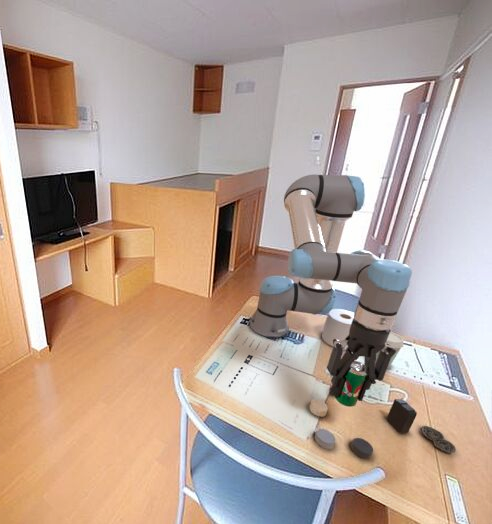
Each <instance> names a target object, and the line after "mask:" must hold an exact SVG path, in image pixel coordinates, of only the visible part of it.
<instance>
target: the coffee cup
mask: <svg viewBox="0 0 492 524" xmlns="http://www.w3.org/2000/svg"><path fill="white" fill-rule="evenodd" d="M385 344H390V345H391V346H392V347H393V348H394V349H395V350H396V353H395V354H394V355H393V356H392V357H391V359H390V362H389V365H388V367H387V369H390V367H391V365H392V364H393V362H394V360H395V359H396V357H397V356H398V354H399V352H400V351H401V349H402V348H403V347H404V338H403V337H402V336H401V335H399V334H397V333H396V332H393V331H390V334H389V336H388V339H387V342H386V343H385ZM379 353H380V351H379V352H378V353H376V361H377V358H378V356H379ZM376 361H375V364H376Z"/></svg>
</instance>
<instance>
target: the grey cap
mask: <svg viewBox="0 0 492 524" xmlns="http://www.w3.org/2000/svg"><path fill="white" fill-rule="evenodd" d="M314 440H315V443H316V444H317V445H318V446H319V447H321V448H323V449H325V450H332V449H333V448H334V447H335V446H334V445H335V443H336V437H335V435H334V434H333V433H332V432H331V431H330V430H328V429H325V428H318V429H317V430H316V431H315V436H314Z"/></svg>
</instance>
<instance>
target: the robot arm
mask: <svg viewBox="0 0 492 524" xmlns="http://www.w3.org/2000/svg"><path fill="white" fill-rule="evenodd" d="M365 199H366V186H365V182H364V181H363V179H362V178H361V177H360V176H355V175H348V174H307V175H304V176H301V177H299V178H298V179H296V180H295V181H293V182H292V183H291V184H290V185H289V186H288V188H287V189H286V191H285V193H284V195H283V204H284V205H283V206H284V209H285V210H286V211H287V212H288V217H289V221H290V227H291V234H292V240H293V247H294V248H293V249H292V250H291V251H290V252H289V255H288V260H287V272H288V274H289V275H290V276H292V277H296V278H299V279H298V282H294V281H293V279H292V278H291V277H289V276H287V277H286V276H285V275H270V276H267V277H265V278H264V279H263V280H262V281H261V283H260V287H259V295H258V300H257V306H256V310H255V312H254V313H253V314H252V317H250V318H249V317H248V318H247V321H249V327H250V328H251V330H252V331H253V332H255V333H256V334H258V335H260V336H263V337H265V338H269V339H282V338H284V337H286V336H287V335H288V332H289V325H288V319H287V314H288V312H296V313H303V314H312V315H319V316H320V315H321V316H324V315H328V313H329V312H330V311H331V310H332V309H334V308H333V307H334V306H335V303H336V297H337V292H336V290H335V288H334V287H333V283H332V282H340V283H349V284H350V283H351V284H355V285H357V286H358V287H359V289H361V292H360V296H359V299H358V301H357V305H356V307H355V308H356V309H355V311H354V313H355V314H354V318H353V320H352V323H351V326H350V330H349V335H348V336H347V337H346V339H345V340H341V341H338V340H337V339H334V340H333V346H334V347H333V346H332V350H331V353H330V356H329V359H328V363H327V365H326V369H327V372H328V373H329V375H330V376H331V380H330V382H331V384H332V386H331V388H332V389H331V388H330V392H331V391H332V393H333V395H332V396H334V399H336V398H339V395H340V392H341V389H342V386H343V383H344V380H345V379H344V378H343V375H344V374H345V373H346V371H347V370H348V369H349V367H350V366H351V364H352V363H353V362H354V361H357V360H358V359H359V358H360V357H363V359H364V360H363V361H364V362H363V365H365V366H366V368H367V376H366V379H365V382H364V384H363V387H362V390H361V392H360V395H359V398H358V400H357V401H358V402H363V400H364V397H365V394H366V392H367V391H369V390H370V389H371V386H372V385H376V384H377V381H379V382H381V381H383V380H384V378H385V375H386V372H387V369H388V368H387V367H388V365H389V362H390V359H391V357H392V356H393V355H394V354H395V353H396V350H395V349H394V348H393V347H392V346H391V345H390V344H385V343H386V342H387V339H388V336H389V334H390V332H391V329H392V328H393V325H394V322H395V320H396V319H397V315H398V312H399V310H400V307H401V305H402V304H403V303H402V302H403V300H404V298H405V295H406V293H407V290H408V289H409V287H410V284H411V283H410V281H411V277H412V274H413V270H412V268H411V267H410V266H409V265H407V264H405V263H402V262H400V261H397V260H394V259H387V258H380V257H379V256H377V255H375V254H374V253H372V252H370V251H368V250H361V249H360V250H356V251H353V252H351V253H347V252H346V253H345V252H338V250H339V246H340V243H341V241H342V240H341V239H342V235H343V232H344V228H345V226H346V222H347V221H348V220H350V219H351V218H353V216H354V215H353V214H354V212H358V211H360V210H361V209H362V207H364V203H365ZM331 281H332V282H331ZM346 345H348V347H347V349H346V350H345V349H344V348H345V346H346ZM344 351H345V352H344ZM379 351H380V353H379V356H378V358H377V361H376V353H378V352H379ZM343 353H344V354H343ZM375 361H376V364H375Z"/></svg>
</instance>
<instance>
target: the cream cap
mask: <svg viewBox="0 0 492 524" xmlns="http://www.w3.org/2000/svg"><path fill="white" fill-rule="evenodd" d="M328 408H329V407H328V405H327V404H326V403H325V402H324V401H322V400H320V399H312V400H311V401H310V404H309V411H310V412H311V414H313V415H315V416H317V417H321V418H322V417H323V418H324V417H325V416H326V415H327V413H328Z"/></svg>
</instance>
